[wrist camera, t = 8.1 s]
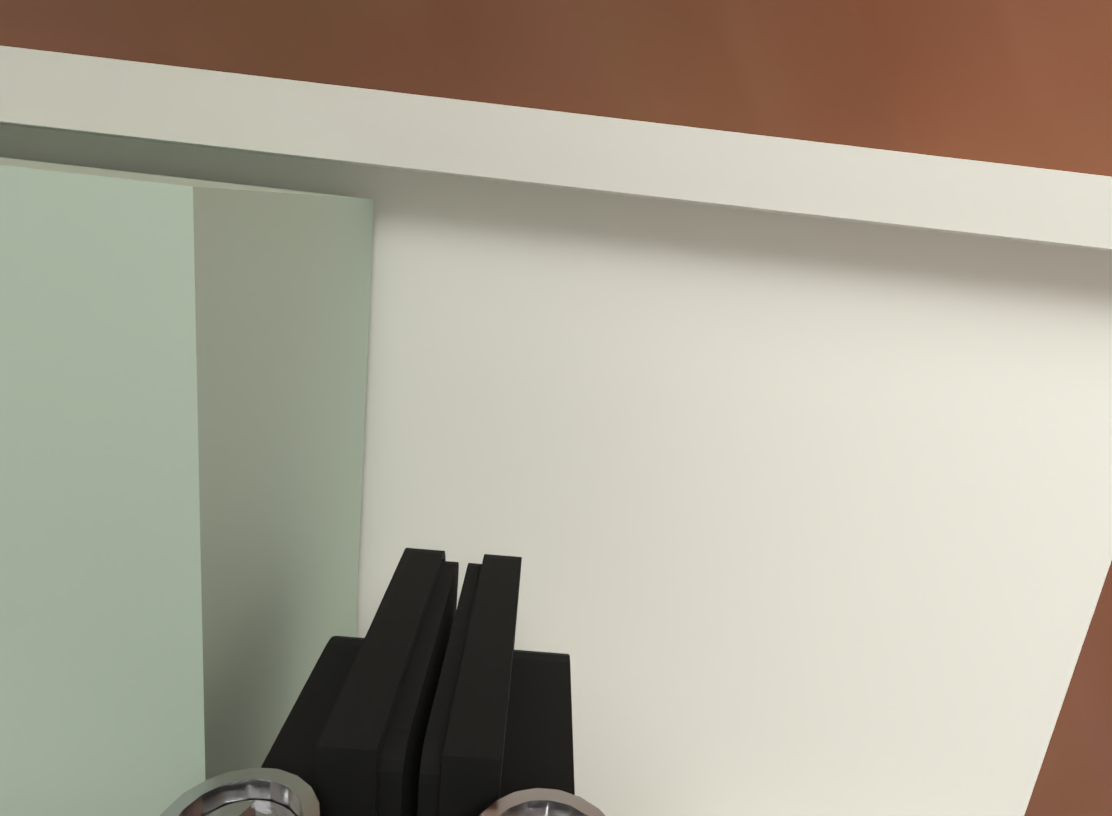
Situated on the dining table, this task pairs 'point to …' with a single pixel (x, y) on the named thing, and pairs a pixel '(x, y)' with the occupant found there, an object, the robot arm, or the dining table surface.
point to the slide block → (170, 474)
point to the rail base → (703, 418)
